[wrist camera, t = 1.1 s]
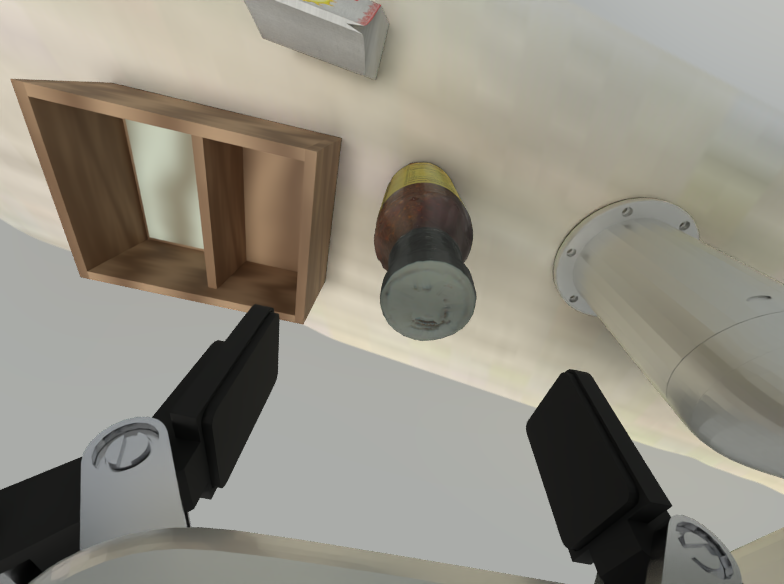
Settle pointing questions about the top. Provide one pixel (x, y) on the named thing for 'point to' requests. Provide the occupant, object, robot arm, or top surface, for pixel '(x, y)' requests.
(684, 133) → the top surface
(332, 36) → the printed food box
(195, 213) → the crate
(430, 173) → the sauce bottle
